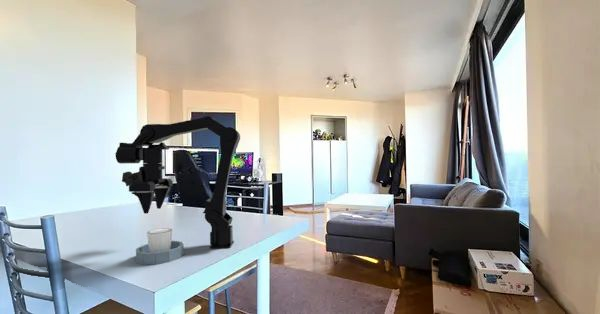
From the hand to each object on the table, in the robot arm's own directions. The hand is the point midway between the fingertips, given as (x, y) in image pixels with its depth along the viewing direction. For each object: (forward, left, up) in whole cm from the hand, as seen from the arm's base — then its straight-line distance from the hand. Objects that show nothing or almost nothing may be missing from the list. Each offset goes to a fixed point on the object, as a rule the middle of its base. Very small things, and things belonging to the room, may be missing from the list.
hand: (152, 210), depth 95 cm
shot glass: (-6, +8, -12) cm, 16 cm away
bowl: (-6, +8, -12) cm, 16 cm away
